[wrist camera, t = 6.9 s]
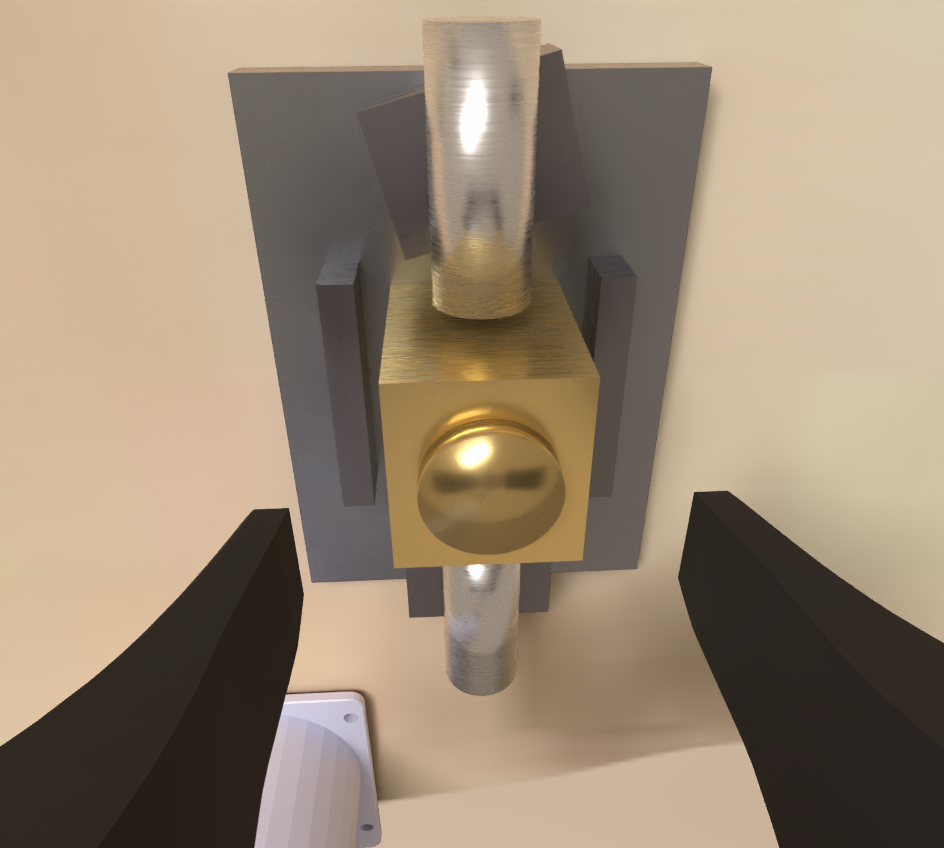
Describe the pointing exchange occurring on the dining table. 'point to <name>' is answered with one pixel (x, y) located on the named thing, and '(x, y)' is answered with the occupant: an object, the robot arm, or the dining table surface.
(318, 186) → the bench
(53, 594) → the dining table surface
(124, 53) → the dining table surface
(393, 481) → the coupler
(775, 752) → the robot arm
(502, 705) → the dining table surface
